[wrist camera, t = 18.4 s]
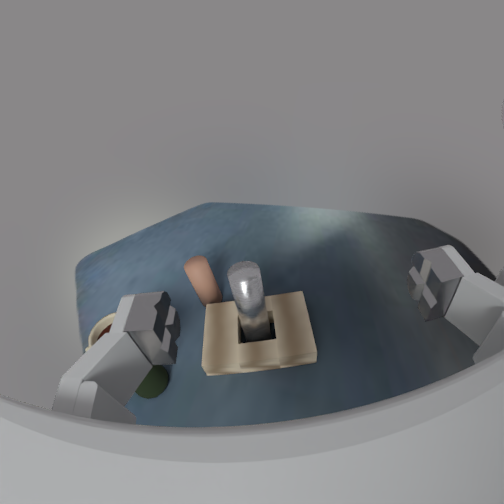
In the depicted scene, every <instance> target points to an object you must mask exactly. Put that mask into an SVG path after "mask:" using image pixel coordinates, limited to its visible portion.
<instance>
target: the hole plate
mask: <svg viewBox="0 0 504 504" xmlns="http://www.w3.org/2000/svg"><path fill="white" fill-rule="evenodd" d="M265 302H266V308H267V313H268V319H269V323H274V325H275V332H276V339H272V340H265V341H257V342H249V343H241V327H242V324H241V321H240V318H239V314H238V311H237V307H236V304H235V301H229V302H221V303H213V304H206V315H205V327H204V340H203V353H202V367H203V369H204V371H205V372H206V374H207V376H210V375H224V374H235V373H245V372H254V371H263V370H271V369H278V368H285V367H292V366H298V365H304V364H310V363H315V362H316V361H317V349H316V345H315V341H314V336H313V332H312V328H311V324H310V320H309V315H308V311H307V307H306V303H305V299H304V295H303V291H298V292H292V293H285V294H279V295H272V296H265Z"/></svg>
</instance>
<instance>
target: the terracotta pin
mask: <svg viewBox="0 0 504 504" xmlns="http://www.w3.org/2000/svg"><path fill="white" fill-rule="evenodd" d="M184 269H185V272H186V273H187V275H188V277H189V279H190V281H191V283H192V285H193V287H194V289H195V291H196V293H197V295H198V297H199V299H200V300H201V302H202V304H203V305H204V306H205V307H206V304H213V303H220V302H221V300H222V294H221V292H220V289H219V287H218V285H217V282H216V280H215V278H214V275H213V273H212V271H211V268H210V266H209V264H208V261H207V259H206V258H205V257H204V256H195V257H192V258H190V259H189V260H188V261H187V262H186V263H185V265H184Z"/></svg>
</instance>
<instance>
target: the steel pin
mask: <svg viewBox="0 0 504 504" xmlns="http://www.w3.org/2000/svg"><path fill="white" fill-rule="evenodd" d="M227 275H228V279H229V283H230V286H231V290H232V293H233V297H234V300H235V304H236V307H237V311H238V314H239V318H240V321H241V324H242V328H243V331H244V335H245V338H246V341H247V343H249V342H257V341H265V340H271V338H272V336H271V330H270V325H269V319H268V313H267V308H266V302H265V296H264V291H263V285H262V280H261V274H260V269H259V266H258V265H257V264H256V263H254V262H251V261H242V262H238V263H236V264H234V265H233V266H231V267H230V268H229V270H228V273H227Z"/></svg>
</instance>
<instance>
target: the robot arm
mask: <svg viewBox="0 0 504 504" xmlns="http://www.w3.org/2000/svg"><path fill="white" fill-rule="evenodd" d="M502 121H503V127H504V101H503V106H502ZM411 262H412V264H413V267H412V269H411V270H410V271H409V273H408V277H407V285H408V290H409V293H410V295H411V296H412V298H413V299H415V300H416V301H418V302H419V303H418V309H419V311H420V313H421V314H422V316H423V318H424V320H425V322H426V321H430V320H434V319H437V318H440V317H444V316H445V317H444V318H446V319H447V320H448V321H449V322H451V323H452V324H453V325H455V326H456V327H457V328H458V329H459V330H461V331H462V332H463V333H464V334H466V335H467V336H468V337H469V338H471V339H472V340H473V341H474V342H475V343H477V344H478V345H479V346H480V347H479V348H478V350H477V351H476V353H475V354H474V356H473V360H474V362H475V365H473V366H471V367H469V368H467V369H464V370H462V371H460V372H458V373H456V374H453V375H451V376H449V377H447V378H444V379H442V380H439V381H437V382H434V383H432V384H429V385H427V386H424V387H421V388H419V389H416V390H413V391H410V392H407V393H404V394H401V395H398V396H395V397H392V398H389V399H386V400H382V401H379V402H375V403H372V404H368V405H365V406H361V407H357V408H353V409H349V410H344V411H340V412H335V413H331V414H326V415H321V416H315V417H310V418H304V419H297V420H291V421H284V422H276V423H267V424H257V425H245V426H229V427H163V426H147V425H136V417H135V415H134V414H133V413H131V412H130V411H129V410H128V409H126V408H125V407H124V406H125V405H126V404H127V402H128V401H129V399H130V398H131V396H132V395H133V394H134V392H135V391H136V389H137V388H138V386H139V385H140V384H141V382H142V381H143V379H144V378H145V377H146V375H147V374H148V372H149V371H150V370H151V368H152V367H153V366H152V365H166V364H176V357H177V350H178V346H177V345H176V343H175V341H176V339H177V338H178V337H179V336H180V319H179V316H178V313H177V311H176V309H175V308H173V307H172V306H170V302H171V299H170V297H169V295H168V293H167V292H165V291H162V292H151V293H140V294H133V295H124V296H123V297H122V298H121V301H120V304H119V306H118V309H117V312H116V314H115V317H114V320H113V323H112V326H111V329H110V332H109V333H105V334H104V335H103V336H102V337H101V338H100V339H99V340H98V341H97V342H96V343H95V344H94V345H93V346H92V347H91V348H90V349H89V350H88V351H87V352H86V353H85V354H84V355H83V356H82V357H81V358H80V359H79V360H78V361H77V362H76V363H75V364H74V365H73V366H72V367H71V368H70V369H69V370H68V371H67V372H66V373H65V374H64V375H63V376H62V378H61V380H60V384H59V387H58V390H57V393H56V396H55V400H54V403H53V407H52V410H49V409H45V408H42V407H38V406H34V405H31V404H27V403H24V402H21V401H18V400H15V399H12V398H9V397H6V396H4V395H1V394H0V504H504V267H503V268H502V269H501V271H500V273H499V275H498V277H497V278H496V280H495V282H494V281H492V280H490V279H489V278H487V277H485V276H483V275H481V274H479V273H474V271H473V270H472V269H471V268H470V266H469V265H468V264H467V263H466V262H465V260H464V259H463V258H462V257H461V256H460V254H459V253H458V252H457V251H456V250H455V249H454V247H453V246H451V245H446V246H441V247H438V248H433V249H428V250H423V251H418V252H415V253H414V255H413V257H412V261H411Z"/></svg>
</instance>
